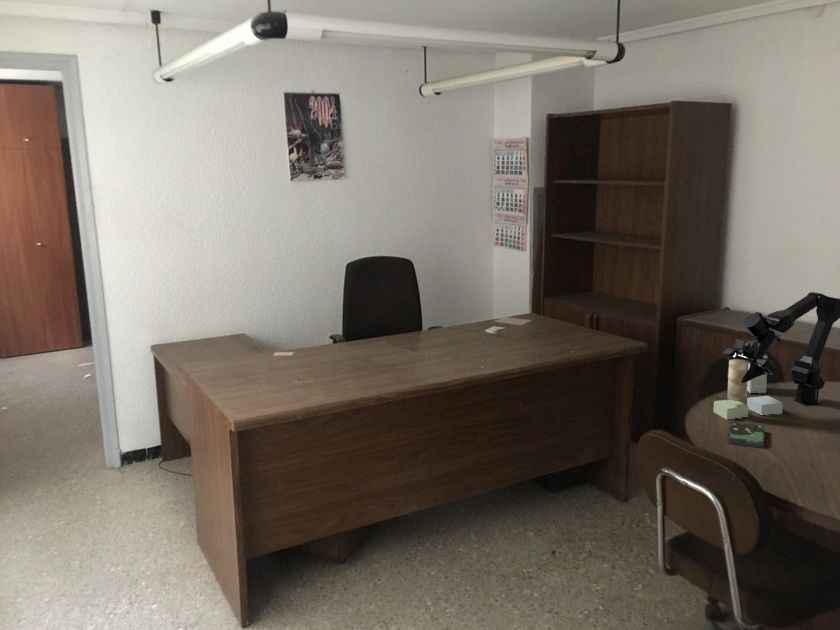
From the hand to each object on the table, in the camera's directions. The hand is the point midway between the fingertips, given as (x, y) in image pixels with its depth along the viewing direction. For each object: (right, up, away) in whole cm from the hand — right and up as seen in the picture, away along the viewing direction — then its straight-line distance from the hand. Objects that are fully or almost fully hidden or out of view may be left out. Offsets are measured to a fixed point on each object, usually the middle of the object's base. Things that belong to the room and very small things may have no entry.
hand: (734, 380), depth 241 cm
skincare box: (+20, -7, +29) cm, 36 cm away
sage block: (+1, -13, +5) cm, 14 cm away
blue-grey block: (+14, -12, +8) cm, 20 cm away
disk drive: (-3, -18, -15) cm, 23 cm away
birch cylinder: (+2, -6, +2) cm, 7 cm away
